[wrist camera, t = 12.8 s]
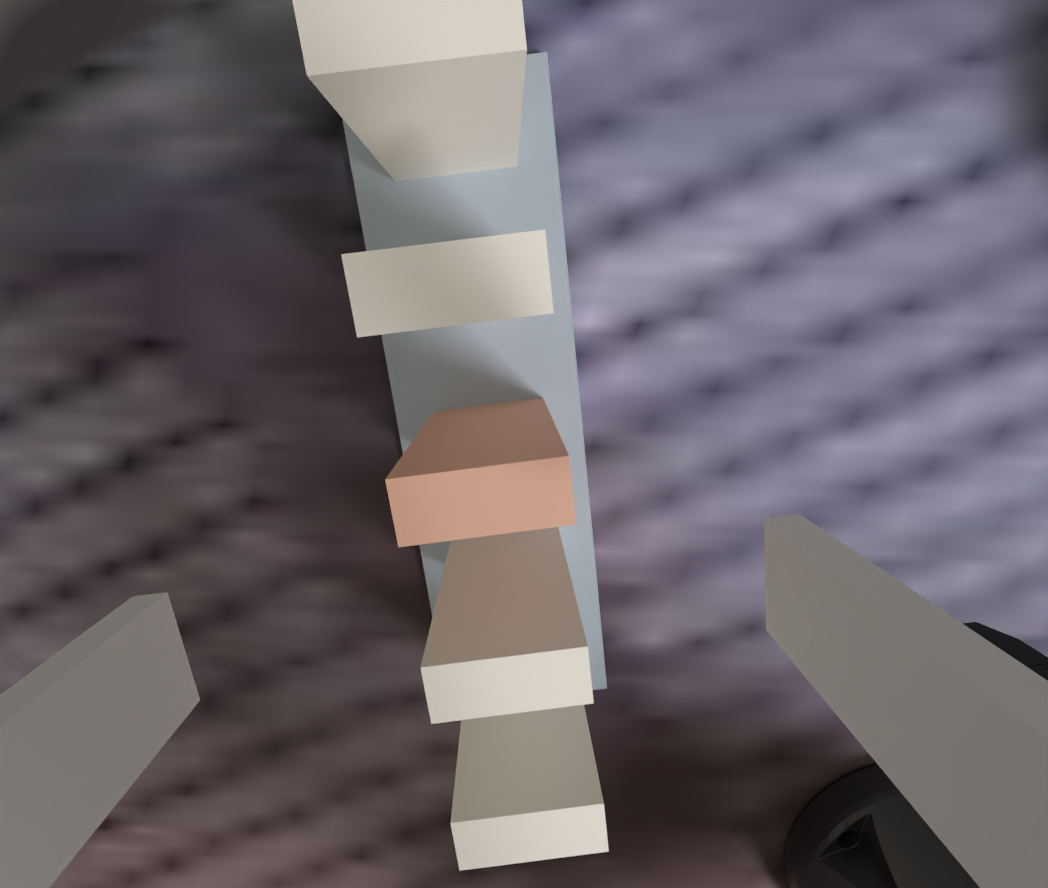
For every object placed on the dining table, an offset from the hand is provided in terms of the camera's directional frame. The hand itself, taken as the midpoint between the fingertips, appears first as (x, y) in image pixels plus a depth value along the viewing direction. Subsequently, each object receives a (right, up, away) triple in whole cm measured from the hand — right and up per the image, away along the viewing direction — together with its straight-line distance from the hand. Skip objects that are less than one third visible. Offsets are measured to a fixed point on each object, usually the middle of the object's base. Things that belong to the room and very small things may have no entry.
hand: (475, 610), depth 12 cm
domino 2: (-1, +5, +17) cm, 18 cm away
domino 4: (+1, -9, +21) cm, 23 cm away
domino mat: (-1, +5, +18) cm, 19 cm away
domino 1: (-2, +11, +16) cm, 19 cm away
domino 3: (0, -2, +19) cm, 19 cm away
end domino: (-2, +18, +14) cm, 23 cm away
